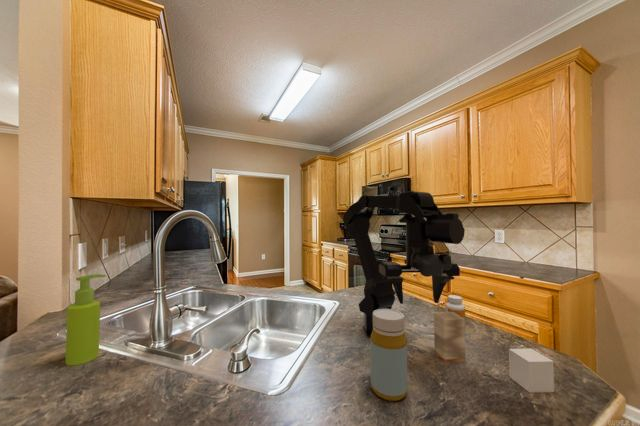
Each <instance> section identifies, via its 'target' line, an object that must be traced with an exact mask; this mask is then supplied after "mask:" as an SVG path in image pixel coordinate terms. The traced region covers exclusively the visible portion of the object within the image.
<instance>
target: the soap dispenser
mask: <svg viewBox="0 0 640 426" xmlns="http://www.w3.org/2000/svg"><path fill="white" fill-rule="evenodd" d="M105 277H107V275H106V274H101V273H100V274H97V273H96V274H88V275H87V274H86V275H83V276H78V277H75V281H79V282H80V283H79V284H80V285H79V288H78V289H77V290H75V291H74V303H73V304H70V305H68V306H67V307H66V333H65V335H66V336H65V337H66V338H65V363H64V364H65V365H66V366H68V367H69V366H71V367H72V366H79V365H83V364H86V363H89V362H90V361H94V360H95V359H96V358H98V356H99V355H100V353H99V352H100V324H101V323H100V321H101V317H100V316H101V301H100V300H95V299H94V298H95V289H94V288H92V287H91V286H90V285H91V284H90V280H91V279H95V278H105Z"/></svg>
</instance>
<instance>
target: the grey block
mask: <svg viewBox="0 0 640 426" xmlns="http://www.w3.org/2000/svg"><path fill="white" fill-rule="evenodd" d="M508 359H509V360H508V368H509V370H508V371H509V378H510V379H512V380H513V381H514V382H515V383H517V384H518V385H519V386H520V387H522V388H523V389H525V390H526V391H527V392H529V393H535V394H536V393H555V371H554V370H555V369H554V361H553V360H552V359H551V358H549V357H546V356H545V355H543V354H542V353H540V352H538V351H536V350H534V349H533V348H509V349H508Z"/></svg>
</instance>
